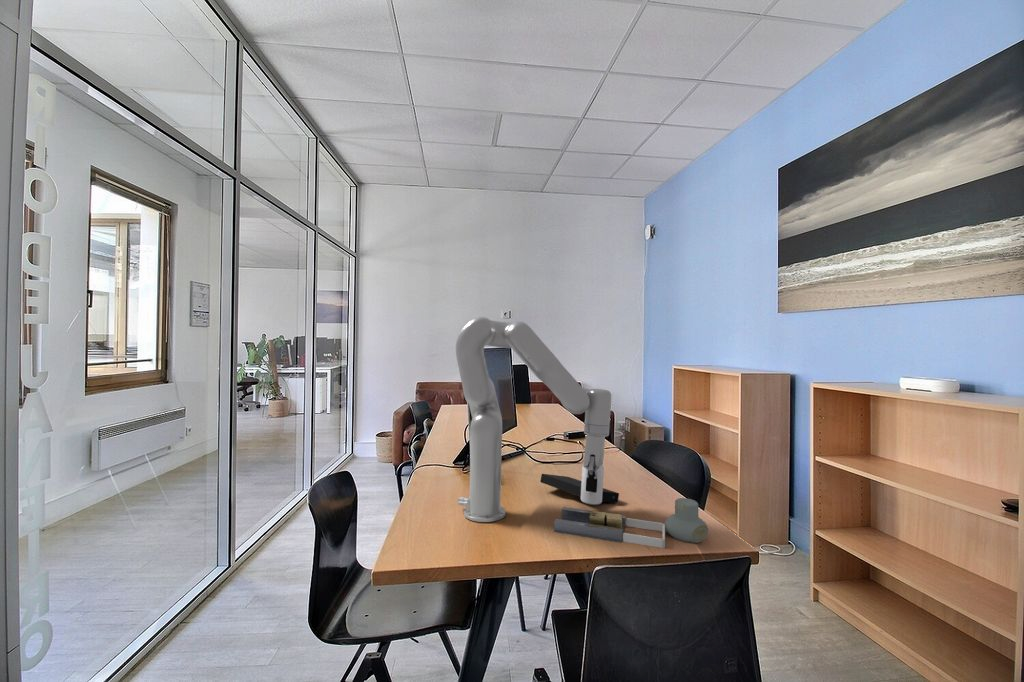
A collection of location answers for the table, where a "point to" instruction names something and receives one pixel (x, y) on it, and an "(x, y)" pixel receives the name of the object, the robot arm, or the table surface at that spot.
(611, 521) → the chip
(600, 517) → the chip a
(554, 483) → the external hard drive
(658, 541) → the tray
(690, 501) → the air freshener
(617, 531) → the slot rail
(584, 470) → the can
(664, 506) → the table surface
